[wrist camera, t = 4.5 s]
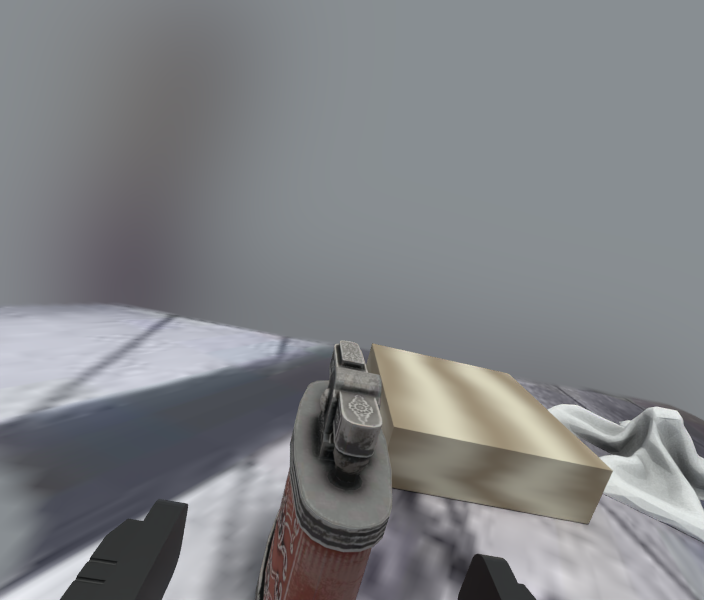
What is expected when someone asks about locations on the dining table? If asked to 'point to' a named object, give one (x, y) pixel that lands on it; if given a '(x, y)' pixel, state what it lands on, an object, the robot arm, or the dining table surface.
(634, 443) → the cloth
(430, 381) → the base block
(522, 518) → the dining table surface
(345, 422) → the lighter
